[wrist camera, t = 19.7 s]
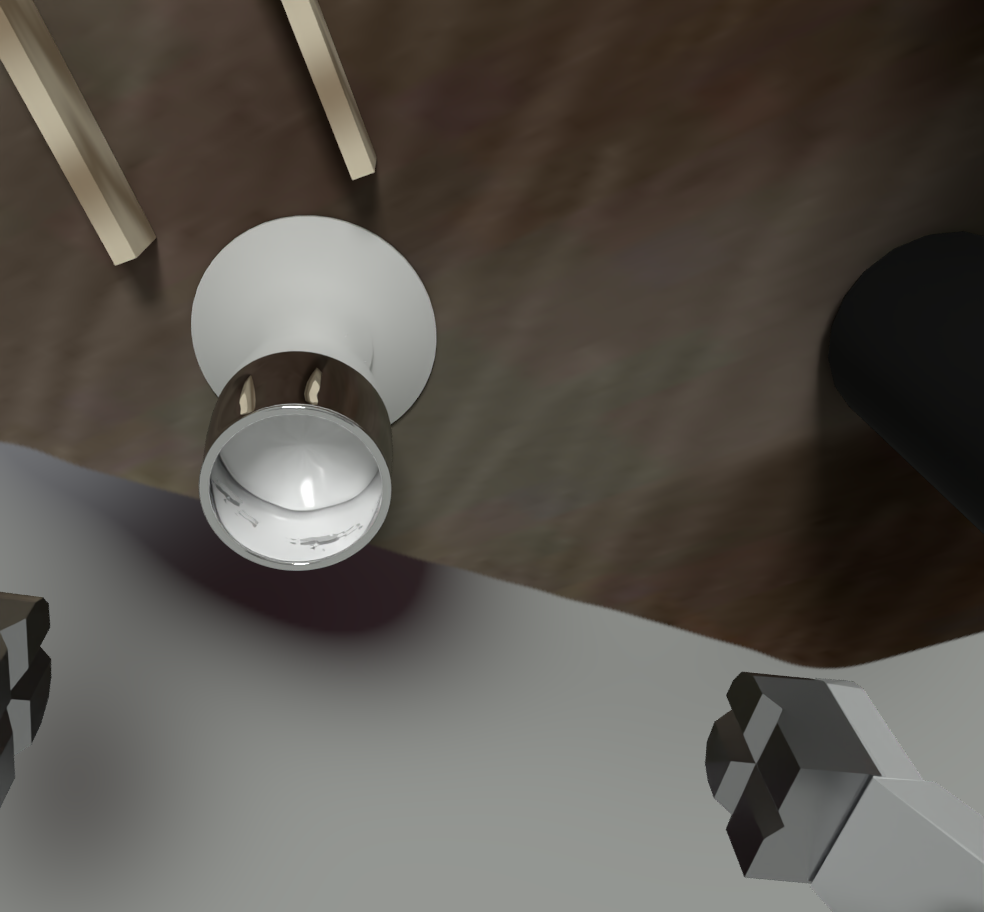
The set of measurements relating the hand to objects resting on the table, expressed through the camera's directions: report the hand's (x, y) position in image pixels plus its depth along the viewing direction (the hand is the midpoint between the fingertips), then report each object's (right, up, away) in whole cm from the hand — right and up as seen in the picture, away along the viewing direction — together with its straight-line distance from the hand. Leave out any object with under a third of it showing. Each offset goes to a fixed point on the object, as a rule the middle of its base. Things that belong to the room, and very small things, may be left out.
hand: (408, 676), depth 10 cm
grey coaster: (-8, +9, +33) cm, 35 cm away
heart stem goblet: (-8, +8, +33) cm, 35 cm away
